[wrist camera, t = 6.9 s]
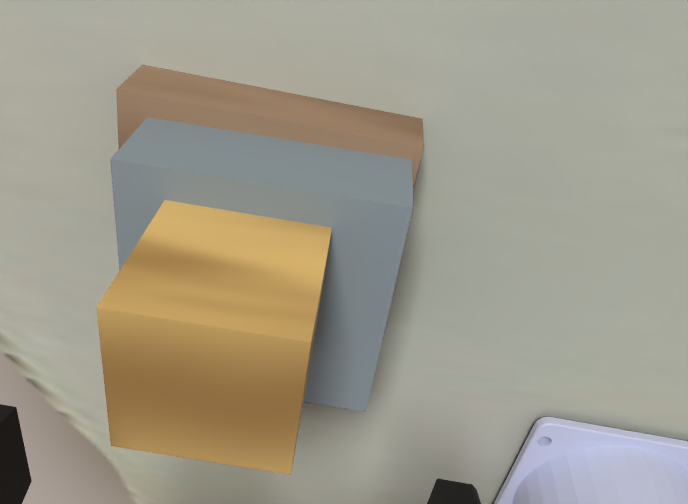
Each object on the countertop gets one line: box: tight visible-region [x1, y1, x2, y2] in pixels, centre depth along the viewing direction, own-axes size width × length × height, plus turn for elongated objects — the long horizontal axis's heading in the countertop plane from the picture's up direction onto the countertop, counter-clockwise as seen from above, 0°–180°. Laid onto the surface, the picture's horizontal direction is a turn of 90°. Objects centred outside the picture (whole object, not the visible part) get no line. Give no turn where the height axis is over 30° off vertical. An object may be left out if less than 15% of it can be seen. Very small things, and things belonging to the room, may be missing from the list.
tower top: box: [110, 117, 413, 412], centre depth 18 cm, size 7×7×2 cm
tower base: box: [117, 65, 424, 187], centre depth 20 cm, size 8×8×2 cm
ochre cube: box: [97, 200, 332, 475], centre depth 14 cm, size 4×4×4 cm
